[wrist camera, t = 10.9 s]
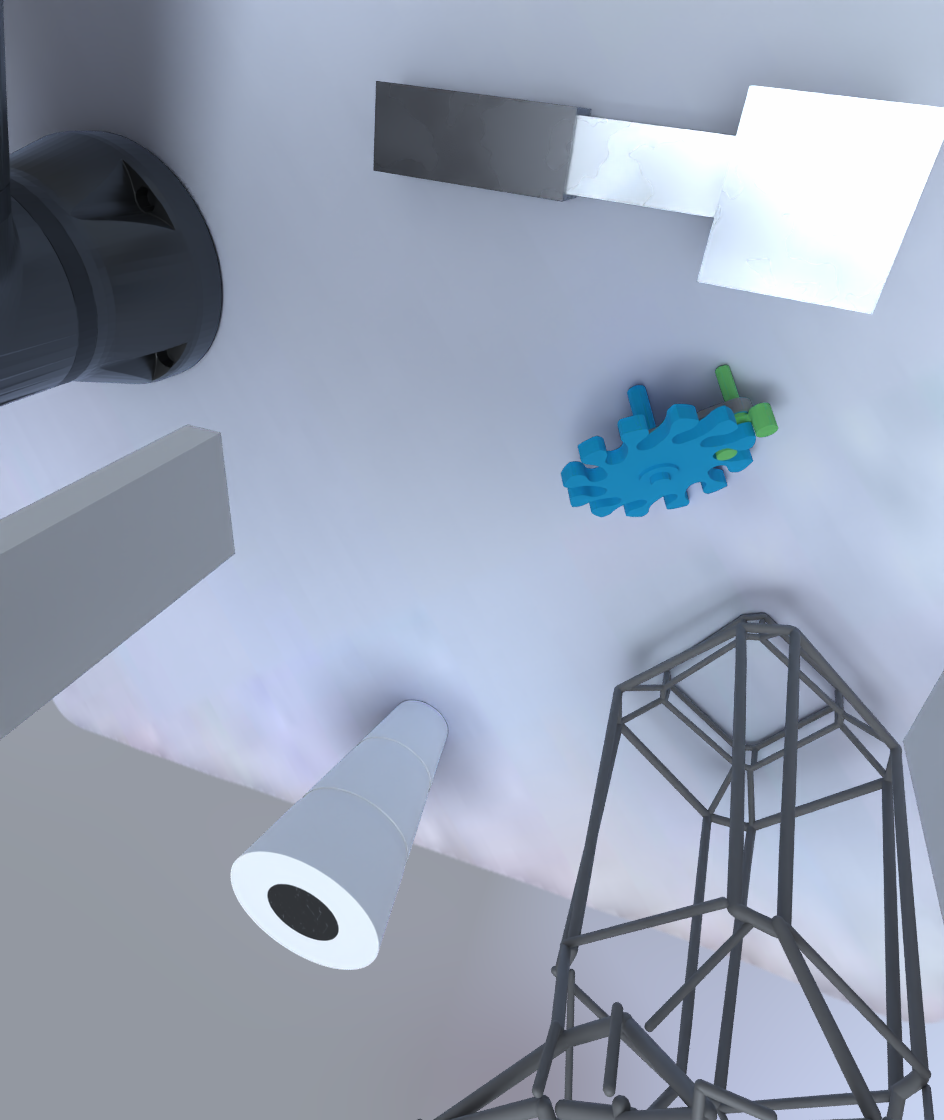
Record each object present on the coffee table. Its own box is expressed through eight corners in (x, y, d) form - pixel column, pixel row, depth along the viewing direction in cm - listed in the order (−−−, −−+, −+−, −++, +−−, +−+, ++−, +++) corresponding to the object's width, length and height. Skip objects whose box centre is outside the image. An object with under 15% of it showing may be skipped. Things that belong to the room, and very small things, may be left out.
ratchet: (396, 195, 39) (331, 204, 34) (403, 53, 36) (331, 37, 30) (852, 273, 33) (865, 300, 28) (913, 113, 30) (942, 107, 24)
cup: (454, 666, 55) (334, 856, 40) (498, 772, 59) (404, 980, 44) (344, 675, 60) (203, 847, 45) (392, 771, 64) (276, 958, 49)
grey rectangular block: (714, 253, 32) (696, 281, 26) (757, 96, 29) (749, 85, 23) (854, 277, 31) (872, 314, 24) (916, 116, 28) (955, 108, 21)
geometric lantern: (944, 719, 42) (1255, 1863, 14) (725, 804, 52) (651, 1603, 23) (772, 531, 41) (739, 1411, 13) (577, 653, 50) (305, 1320, 22)
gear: (600, 542, 43) (536, 478, 35) (581, 458, 45) (517, 379, 37) (792, 482, 39) (771, 392, 31) (760, 393, 41) (733, 287, 33)
